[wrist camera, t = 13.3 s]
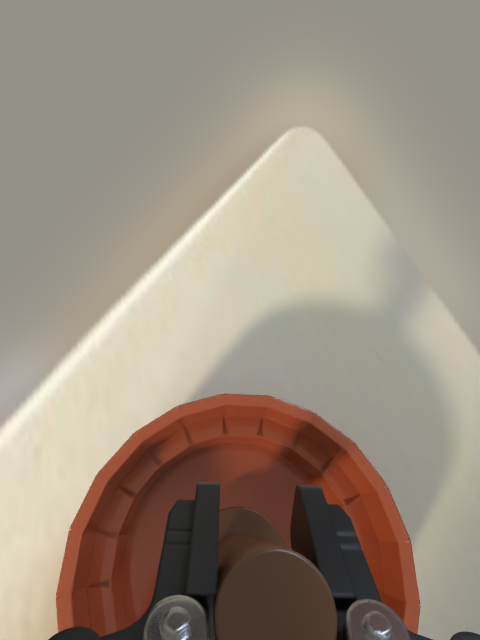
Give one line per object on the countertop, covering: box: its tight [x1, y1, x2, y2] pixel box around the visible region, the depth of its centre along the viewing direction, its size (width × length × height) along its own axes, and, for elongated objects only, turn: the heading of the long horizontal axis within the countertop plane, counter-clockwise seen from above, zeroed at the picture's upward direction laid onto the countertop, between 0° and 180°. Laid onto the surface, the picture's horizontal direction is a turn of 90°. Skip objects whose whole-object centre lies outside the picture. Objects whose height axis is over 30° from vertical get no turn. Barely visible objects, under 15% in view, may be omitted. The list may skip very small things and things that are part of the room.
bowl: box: [56, 394, 420, 640], centre depth 18 cm, size 14×14×5 cm
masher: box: [214, 507, 337, 640], centre depth 14 cm, size 5×5×14 cm
